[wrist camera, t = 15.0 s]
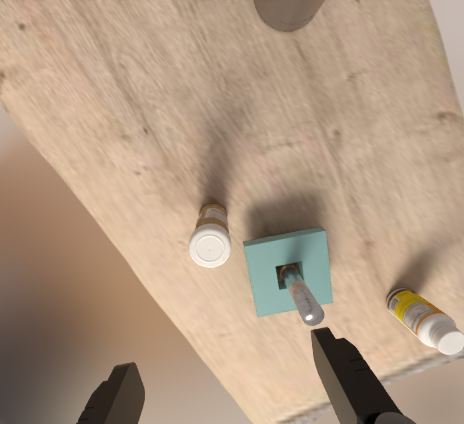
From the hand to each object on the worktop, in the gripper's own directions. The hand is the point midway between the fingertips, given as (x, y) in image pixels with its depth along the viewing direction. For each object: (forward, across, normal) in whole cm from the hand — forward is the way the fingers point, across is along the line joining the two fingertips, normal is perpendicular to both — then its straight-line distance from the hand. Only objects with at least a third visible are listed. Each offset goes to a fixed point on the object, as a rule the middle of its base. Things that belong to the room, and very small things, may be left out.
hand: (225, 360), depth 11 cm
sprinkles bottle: (+28, +2, +1) cm, 28 cm away
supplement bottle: (+28, -28, +22) cm, 46 cm away
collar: (+25, -8, +10) cm, 28 cm away
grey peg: (+28, -8, +10) cm, 31 cm away
